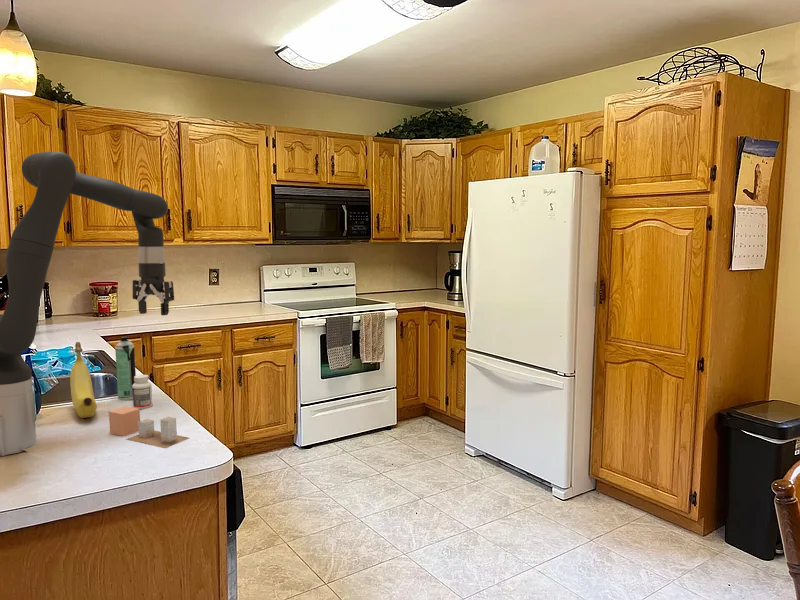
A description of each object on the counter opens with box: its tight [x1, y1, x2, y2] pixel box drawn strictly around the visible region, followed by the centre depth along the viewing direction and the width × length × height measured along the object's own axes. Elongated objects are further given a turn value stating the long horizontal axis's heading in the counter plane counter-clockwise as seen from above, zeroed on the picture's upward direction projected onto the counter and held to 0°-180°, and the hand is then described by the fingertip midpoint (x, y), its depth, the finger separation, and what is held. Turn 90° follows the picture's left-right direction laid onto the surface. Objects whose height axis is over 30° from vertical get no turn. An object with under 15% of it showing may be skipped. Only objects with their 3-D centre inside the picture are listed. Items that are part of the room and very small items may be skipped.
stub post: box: [138, 418, 155, 438], centre depth 150 cm, size 3×3×4 cm
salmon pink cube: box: [108, 405, 141, 437], centre depth 154 cm, size 5×5×7 cm
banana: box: [69, 341, 97, 419], centre depth 170 cm, size 23×6×20 cm, turn 34°
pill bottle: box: [132, 374, 153, 410], centre depth 177 cm, size 5×5×10 cm
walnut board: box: [125, 429, 190, 449], centre depth 149 cm, size 8×14×1 cm, turn 64°
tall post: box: [159, 416, 178, 443], centre depth 146 cm, size 3×3×6 cm
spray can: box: [114, 336, 137, 401], centre depth 187 cm, size 6×6×20 cm
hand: (153, 314), depth 179 cm, fingers open, 8 cm apart
